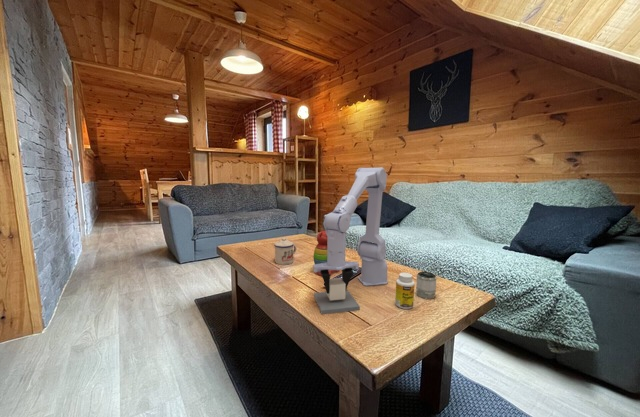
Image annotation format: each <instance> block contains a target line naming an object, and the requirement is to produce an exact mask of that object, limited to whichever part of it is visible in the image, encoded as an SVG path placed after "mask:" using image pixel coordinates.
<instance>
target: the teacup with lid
mask: <svg viewBox="0 0 640 417" xmlns="http://www.w3.org/2000/svg"><path fill="white" fill-rule="evenodd" d="M296 252H297V245H295V244H294V242H292V241H290V240H288V239H287V238H286V237H282V238H281V239H279V241H276V242H275V243H274V261H275V262H274V263H276V264H277V265H281V266H282V265H283V266H284V265H290V264H293V262H294V255H295V254H296Z"/></svg>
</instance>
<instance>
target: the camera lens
mask: <svg viewBox="0 0 640 417" xmlns="http://www.w3.org/2000/svg"><path fill="white" fill-rule="evenodd" d="M415 284H416V285H415V286H416V287H415V288H416V289H415V290H416V296H418V297H419V298H421V297H422V299H425V298H427V299H426V300H430V299H429V298H432V299H434V298H435V296H436V291H437V290H436V289H437V275H435V274H434V273H432V272H429V271H420V272H417V274H416V283H415ZM433 297H434V298H433Z"/></svg>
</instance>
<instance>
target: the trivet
mask: <svg viewBox="0 0 640 417" xmlns="http://www.w3.org/2000/svg"><path fill="white" fill-rule="evenodd" d="M313 297H314V299H315V301H316V304H317V307H318V309H319V311H320V313H321V315H327V314H336V313H337V314H338V313H339V314H340V313H345V312H346V313H347V312H353V311H354V312H355V311H356V312H357V311H360V310H361V306H360V305H359V303H358V302H357V301H356V299H355V298H354V297H353V295H352V293H351V292H350V291H349V290H348V289H347V290H346V292H345V299H341V300H330V299H329V298H328V296H327V294H326V291H321V292H314V293H313Z"/></svg>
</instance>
